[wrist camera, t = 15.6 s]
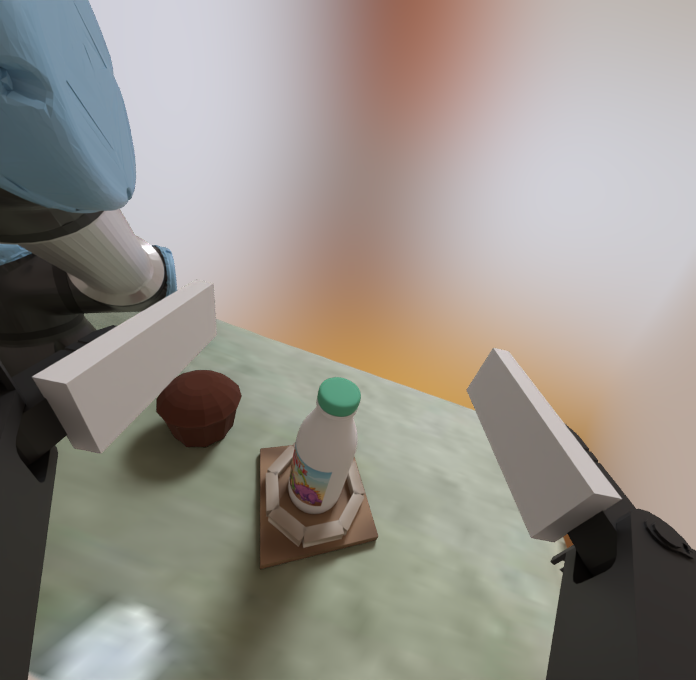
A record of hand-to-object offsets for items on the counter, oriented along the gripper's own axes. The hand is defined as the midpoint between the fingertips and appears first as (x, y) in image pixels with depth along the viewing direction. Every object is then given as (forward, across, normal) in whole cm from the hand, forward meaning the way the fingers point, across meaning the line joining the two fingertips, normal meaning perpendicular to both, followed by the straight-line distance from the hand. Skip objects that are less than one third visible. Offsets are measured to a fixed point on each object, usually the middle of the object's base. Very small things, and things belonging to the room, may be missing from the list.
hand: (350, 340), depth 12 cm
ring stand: (+10, +1, -34) cm, 35 cm away
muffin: (+17, -19, -34) cm, 43 cm away
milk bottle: (+10, +1, -33) cm, 35 cm away
